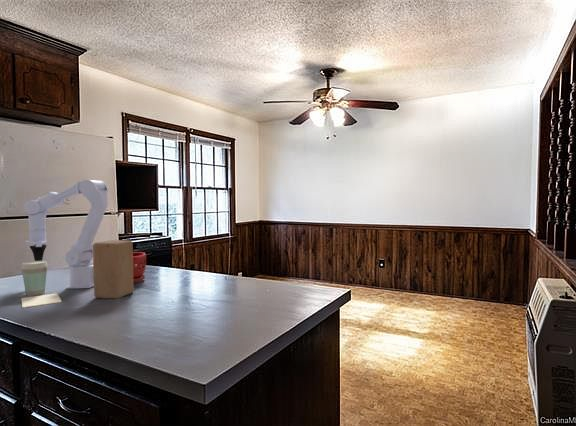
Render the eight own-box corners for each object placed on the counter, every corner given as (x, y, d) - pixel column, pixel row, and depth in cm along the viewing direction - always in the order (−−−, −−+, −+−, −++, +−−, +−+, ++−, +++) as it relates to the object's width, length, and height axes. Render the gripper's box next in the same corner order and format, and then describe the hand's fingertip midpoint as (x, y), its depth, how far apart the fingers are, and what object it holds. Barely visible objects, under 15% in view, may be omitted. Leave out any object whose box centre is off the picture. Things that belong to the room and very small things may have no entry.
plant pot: (113, 280, 162) (112, 253, 162) (145, 277, 168) (144, 251, 167) (113, 286, 150) (112, 257, 150) (147, 283, 156) (147, 254, 155)
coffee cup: (54, 291, 143) (53, 260, 142) (37, 297, 134) (36, 264, 134) (33, 290, 144) (32, 260, 143) (15, 296, 135) (14, 264, 135)
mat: (21, 299, 132) (21, 298, 132) (57, 294, 138) (57, 293, 138) (22, 308, 121) (22, 307, 121) (61, 302, 127) (61, 301, 127)
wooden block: (117, 299, 130) (116, 243, 129) (93, 298, 132) (91, 242, 131) (134, 292, 140) (133, 240, 139) (111, 291, 142) (110, 239, 141)
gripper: (25, 229, 154) (26, 261, 154) (26, 231, 142) (27, 266, 143) (45, 228, 158) (46, 259, 159) (47, 230, 146) (48, 264, 147)
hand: (38, 262), depth 151 cm, fingers closed
